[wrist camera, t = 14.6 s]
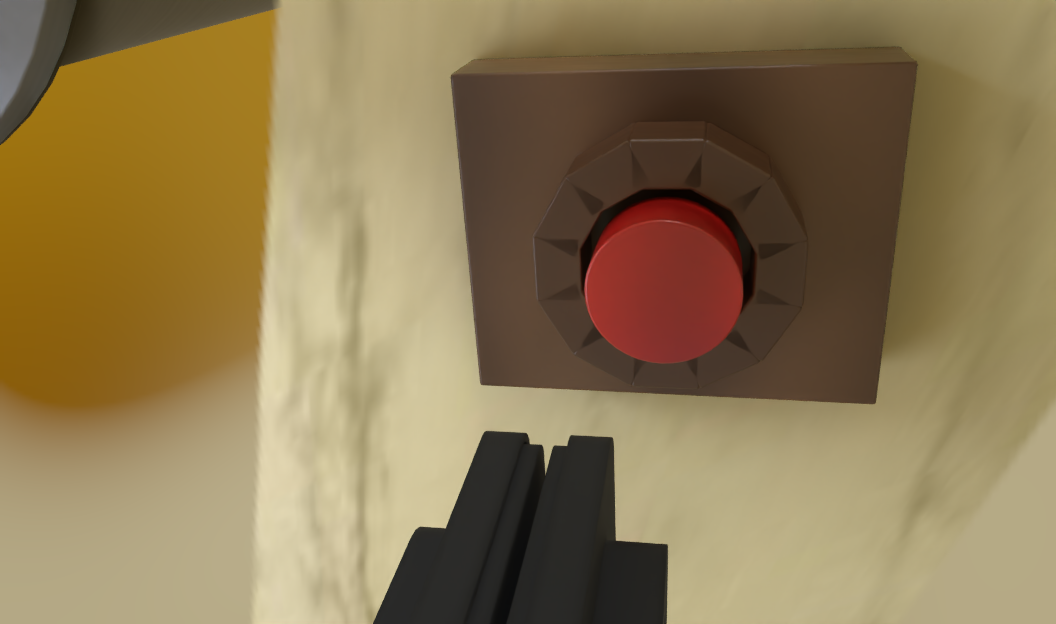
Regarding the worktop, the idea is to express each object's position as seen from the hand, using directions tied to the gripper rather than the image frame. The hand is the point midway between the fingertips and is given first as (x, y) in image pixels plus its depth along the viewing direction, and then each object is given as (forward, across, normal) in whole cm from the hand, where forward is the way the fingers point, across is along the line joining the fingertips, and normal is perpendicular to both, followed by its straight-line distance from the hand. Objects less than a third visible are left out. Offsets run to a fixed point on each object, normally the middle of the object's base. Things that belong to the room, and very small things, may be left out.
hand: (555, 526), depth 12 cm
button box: (+15, -1, +1) cm, 15 cm away
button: (+11, -1, +1) cm, 11 cm away
